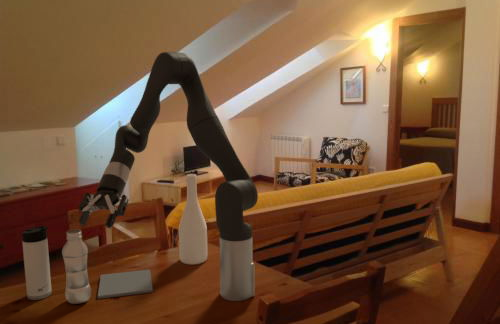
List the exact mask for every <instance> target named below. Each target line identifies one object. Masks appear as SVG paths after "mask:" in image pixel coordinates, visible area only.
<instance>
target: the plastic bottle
mask: <svg viewBox="0 0 500 324" xmlns="http://www.w3.org/2000/svg"><path fill="white" fill-rule="evenodd" d="M82 237H83V235H82V230H80V229H72V230H67V231H66V240H67V241H66V243H65V244H64V245H63V248H62V250H61V255H62V258H63V259H62V260H63V262H64V267H65V274H66V280H65V285H66V286H65V292H64V294H65V299H66V301H68V303H70V304H72V305H77V304H78V305H79V304H83V303H86V302H87V301H88V300H90V298H91V296H92V293H91V292H92V288H91V285H90V282H89V276H88V275H89V274H88V252H89V251H88V246H87V245H86V243H85V242H84V241H83V238H82Z"/></svg>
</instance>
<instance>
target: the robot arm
mask: <svg viewBox="0 0 500 324" xmlns="http://www.w3.org/2000/svg"><path fill="white" fill-rule="evenodd" d="M168 85H179V87H181V89H182V91H183V93H184V95H185V99H186V100H187V112H186V126H187V130H188V132H189V134H190V135H191V138H192V140H193V143H194V144H195V145H196V147H197V149H198V150H199V151H200V152H201V153H202V154H203V155H204V156H205V157H206V158H207V159H209V160H210V161H211V162H212V163H213V164H214V165H215V166H216V167H217V168H218V169H219V171H220V173H222V176H223V177H224V180H225V181H224V182H222V183H219V185H218V186H217V188H216V191H215V195H214V204H215V205H214V206H215V209H214V210H215V219H216V220H215V223H216V226H217V230H218V232H219V282H220V283H219V286H220V287H219V289H220V290H219V291H220V296H221V298H223V299H224V300H227V301H231V302H241V301H246V300H247V299H249V298H251V297H255V296H256V295H255V293H256V292H255V291H256V290H255V286H256V285H255V282H256V279H255V274H256V273H255V269H256V268H255V265H256V264H255V263H254V261H253V227H252V225H251V224H249V223H248V222H244V212H245V211H248V210H250V209H252V208H254V207H255V206H256V205H257V203H258V198H259V194H258V193H259V192H258V189H257V187H256V185H255V182H254V181H253V179H252V177H251V176H250V175H249V173H248V171H247V170H246V168H245V167H244V166H243V164H242V162H241V160H240V158H239V157H238V155H237V153H236V151H235V148H234V146H233V145H232V143H231V141H230V140H229V138H228V137H229V136H228V135H227V134H226V130H225V128H224V126H223V125H222V123H221V121H220V118H219V116H218V115H217V113H216V111H215V110H214V108H213V105H212V103H211V101H210V98H209V96H208V95H207V92H206V90H205V88H204V85H203V81H202V79H201V77H200V73H199V71H198V69H197V66H196V64H195V62H194V60H193V58H192V57H191V56H190V55H189V54H187V53H184V52H178V51H177V52H176V51H175V52H173V51H164V52H160V53H159V54H158V55H157V56H156V58H155V59H154V62H153V64H152V67H151V69H150V72H149V75H148V79H147V81H146V85H145V87H144V92H143V94H142V97H141V100H140V101H139V104H138V105H137V107H136V109H135V110H134V112H133V113H132V116H131V118H130V120H129V122H130V123H129V124H130V126H129V125H122V126H120V127H119V128H118V129H117V130H116V133H115V137H114V138H115V139H114V149H113V152H112V153H113V154H112V156H111V158H110V160H109V163H108V165H107V166H106V167H105V169H104V172H103V174H102V175H101V178H100V180H99V183H98V184H97V188H96V192H95V193H94V194H90V193H89V192H86V193H85V194H84V196H83V197H82V199H81V201H80V203H79V205H78V207H77V209H78V210H79V211H80V212H81V215H80V217H79V219H78V222H79V225H80V226H81V227H85V226H86V224H87V222H88V220H89V218H90V215H92V213H93V212H97V211H98V210H105V211H108V210H109V211H110V213H109V214H108V216H107V219H106V222H105V223H104V225H105V227H106V228H107V229H111V228H112V227H113V226H114V225H115V222H116V219H117V218H118V217H120V216H121V217H124V216H125V213H126V210H127V208H128V204H129V202H130V201H129V200H130V199H129V198H128V196H126V194H123V192H124V190H125V187H126V185H127V183H128V180H129V178H130V177H129V176H130V173H131V170H132V168H133V165H134V163H135V161H136V159H135V156H134V153H136V154H137V153H138V154H139V153H140V154H141V153H142V152H144V151H145V149H146V148H147V145H148V142H149V135H150V131H151V130H152V127H153V126H154V124H155V123H156V121H157V119H158V117H159V116H160V112H161V99H160V98H161V94H162V92H163V91H164V90H165V88H166V87H167V86H168ZM131 151H132V152H133V153H132V152H131ZM117 204H118V207H117V206H116V205H117Z"/></svg>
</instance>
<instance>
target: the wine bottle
mask: <svg viewBox="0 0 500 324" xmlns="http://www.w3.org/2000/svg"><path fill="white" fill-rule="evenodd" d="M185 181H186V201H185V205H184V207H183V208H184V209H183V212H182V216H181V218H180V221H179V226H178V249H179V260H180V262H181V263H183V264H185V265H190V266H191V265H194V266H195V265H200V264H202V263H205V261H207V259H208V227H207V223H206V220H205V217H204V214H203V211H202V209H201V205H200V202H199V199H198V188H197V181H198V176H197V174H195V173H188V174H186V177H185Z"/></svg>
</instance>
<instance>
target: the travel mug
mask: <svg viewBox="0 0 500 324" xmlns="http://www.w3.org/2000/svg"><path fill="white" fill-rule="evenodd" d="M47 230H48V226H46V225H44V226H43V225H42V226H34V227H31V228H27V229H25V231H22V232H21V236H22V237H21V238H22V240H21V241H22V253H23V264H24V276H25V277H24V278H25V285H26V286H25V287H26V296H27V297H26V298H27V299H28V300H32V301H38V300H43V299H45V298H48V297H50V296H51V294H52V282H51V280H52V279H51V269H50V267H51V265H50V256H49V244H48V243H49V242H48V233H47Z"/></svg>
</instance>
